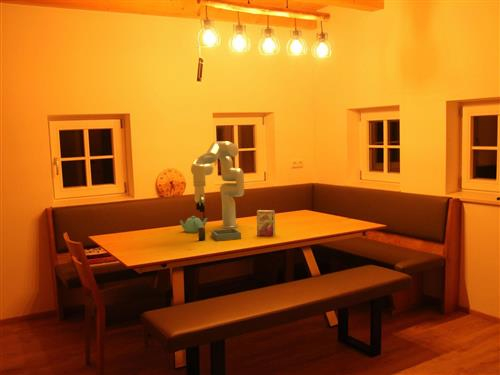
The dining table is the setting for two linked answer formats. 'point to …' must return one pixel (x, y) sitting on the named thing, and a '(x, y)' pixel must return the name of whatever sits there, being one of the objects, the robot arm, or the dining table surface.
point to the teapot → (193, 224)
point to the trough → (225, 234)
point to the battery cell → (201, 233)
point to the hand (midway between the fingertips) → (200, 210)
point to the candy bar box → (265, 223)
